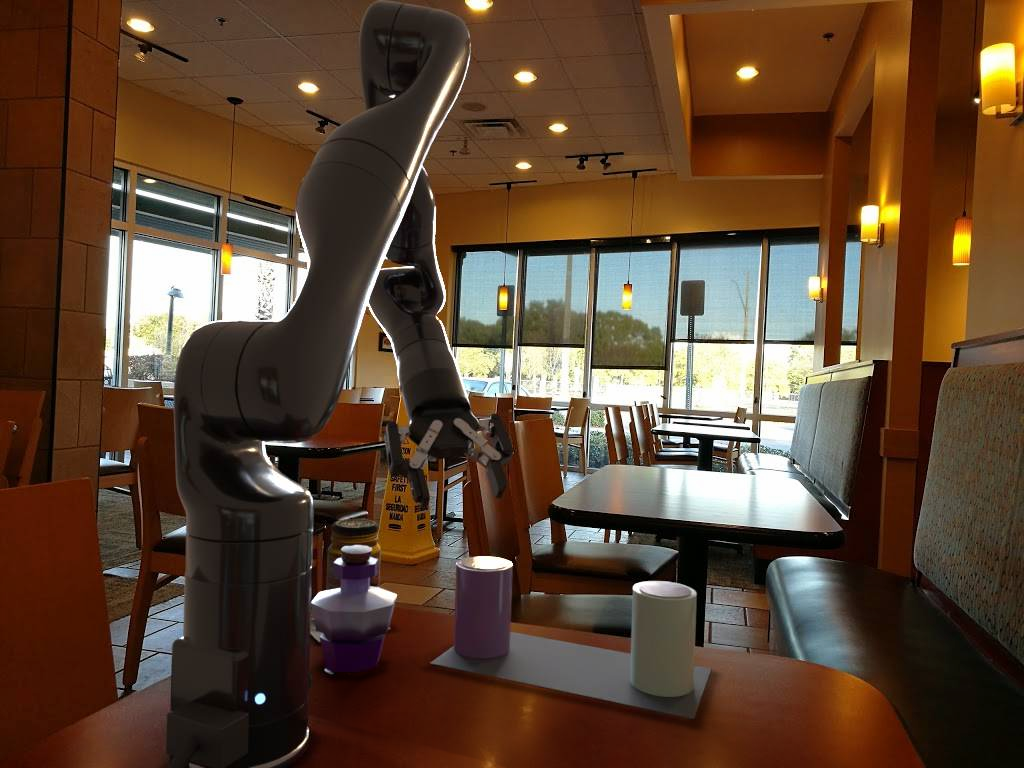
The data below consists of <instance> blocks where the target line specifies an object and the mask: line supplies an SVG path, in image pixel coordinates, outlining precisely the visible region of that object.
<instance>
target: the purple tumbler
mask: <svg viewBox="0 0 1024 768" xmlns="http://www.w3.org/2000/svg"><path fill="white" fill-rule="evenodd" d="M455 565H456V566H455V591H454V622H453V623H454V624H453V646H454V650H455V651H456V652H457V653H458V654H460V655H463V656H466V657H470V658H478V659H488V658H496V657H500V656H503V655H505V654H506V653H508V652H509V650H510V635H511V632H512V606H513V605H512V602H513V575H514V565H513V563H512V561H510V560H508V559H505V558H502V557H496V556H484V555H483V556H482V555H481V556H469V557H464V558H461V559H459V560H457V561H456V563H455Z"/></svg>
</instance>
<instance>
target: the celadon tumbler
mask: <svg viewBox="0 0 1024 768" xmlns="http://www.w3.org/2000/svg"><path fill="white" fill-rule="evenodd" d="M697 593H698V592H697V591H696V590H695V589H693V587H690V586H687V585H685V584H681V583H677V582H672V581H664V580H663V581H662V580H648V581H641V582H638V583H635V584H634V585H633V586H632V598H631V601H632V602H631V627H630V630H631V631H630V653H629V654H630V683H631V684H632V686H634V687H635V688H636V689H638V690H640V691H642V692H644V693H647V694H651V695H655V696H662V697H678V696H683V695H686V694H688V693H690V692H691V691H692V690H693V682H694V665H695V650H696V629H697V627H696V625H697V599H698V594H697Z"/></svg>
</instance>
